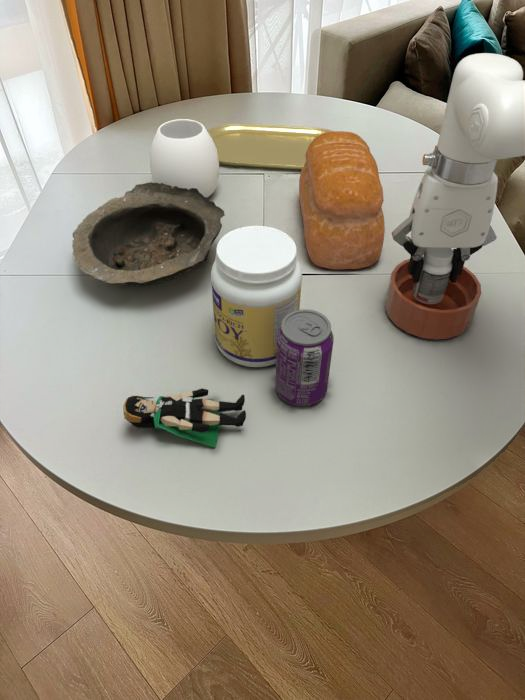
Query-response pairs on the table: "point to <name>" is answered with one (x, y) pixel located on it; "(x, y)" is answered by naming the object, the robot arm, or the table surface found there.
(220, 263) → the supplement tub
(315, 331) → the beverage can
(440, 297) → the pill bottle
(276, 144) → the serving platter
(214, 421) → the figurine
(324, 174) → the bread
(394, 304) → the terracotta bowl
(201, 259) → the stone bowl
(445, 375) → the table surface
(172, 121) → the white vase
